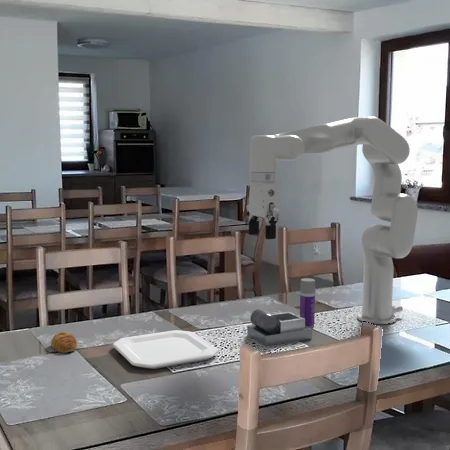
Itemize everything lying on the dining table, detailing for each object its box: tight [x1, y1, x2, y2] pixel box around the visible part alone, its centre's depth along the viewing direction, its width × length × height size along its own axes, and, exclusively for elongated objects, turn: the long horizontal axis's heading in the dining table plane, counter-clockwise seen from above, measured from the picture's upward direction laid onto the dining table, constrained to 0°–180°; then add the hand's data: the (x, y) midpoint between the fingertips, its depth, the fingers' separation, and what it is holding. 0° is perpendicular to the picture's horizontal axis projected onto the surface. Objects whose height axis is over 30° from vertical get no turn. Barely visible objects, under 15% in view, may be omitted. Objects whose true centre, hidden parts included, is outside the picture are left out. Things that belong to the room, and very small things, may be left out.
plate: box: [112, 329, 219, 370], centre depth 171 cm, size 25×25×2 cm
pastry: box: [50, 331, 78, 354], centre depth 173 cm, size 9×7×4 cm
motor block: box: [246, 309, 313, 347], centre depth 184 cm, size 16×11×8 cm
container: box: [299, 277, 316, 329], centre depth 196 cm, size 5×5×15 cm
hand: (261, 236), depth 180 cm, fingers open, 9 cm apart
